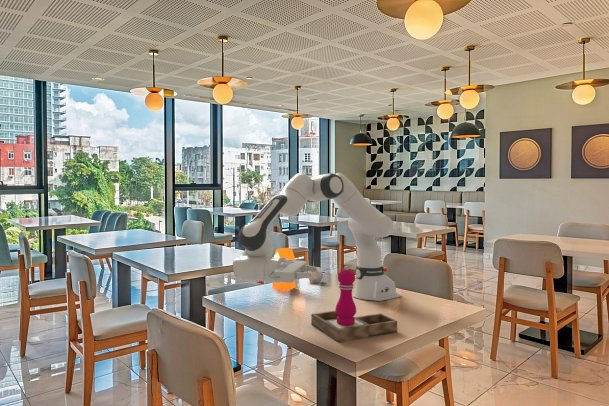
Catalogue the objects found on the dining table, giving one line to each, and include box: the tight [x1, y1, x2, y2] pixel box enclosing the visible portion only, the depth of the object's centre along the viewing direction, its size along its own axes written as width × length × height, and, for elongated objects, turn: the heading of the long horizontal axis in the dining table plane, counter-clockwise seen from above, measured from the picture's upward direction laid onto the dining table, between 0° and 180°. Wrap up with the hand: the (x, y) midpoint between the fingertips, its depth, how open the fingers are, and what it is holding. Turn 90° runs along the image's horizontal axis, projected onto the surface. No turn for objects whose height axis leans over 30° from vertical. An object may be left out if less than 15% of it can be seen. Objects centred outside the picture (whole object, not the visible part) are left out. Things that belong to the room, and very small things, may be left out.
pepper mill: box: [334, 265, 357, 326], centre depth 153 cm, size 7×7×20 cm
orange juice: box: [271, 247, 297, 292], centre depth 218 cm, size 8×9×20 cm
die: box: [308, 266, 324, 284], centre depth 232 cm, size 8×9×10 cm
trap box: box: [310, 310, 398, 343], centre depth 160 cm, size 24×20×4 cm
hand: (313, 272), depth 155 cm, fingers open, 8 cm apart
